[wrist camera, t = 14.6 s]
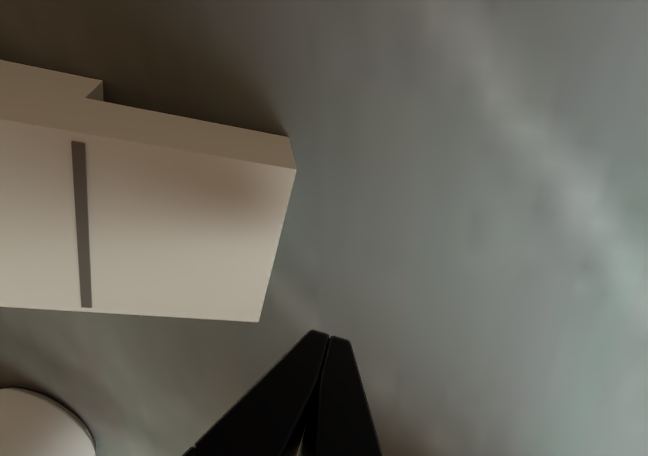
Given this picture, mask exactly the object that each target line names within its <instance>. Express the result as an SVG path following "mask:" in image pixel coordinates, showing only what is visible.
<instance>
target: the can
mask: <svg viewBox="0 0 648 456" xmlns="http://www.w3.org/2000/svg"><path fill="white" fill-rule="evenodd" d="M0 456H95V441H94V438H93V436H92V434H91V432H90V430H89V429H88V428H87V426H86V425H85V424H84V423H83V421H82V420H81V419H80V418H79V417H78V416H76V415H75V414H74V413H73V412H72V411H71V410H69V409H68V408H67V407H65V406H64V405H62V404H61V403H59V402H57V401H56V400H54V399H52V398H50V397H48V396H46V395H44V394H41V393H39V392H36V391H33V390H29V389H25V388H19V387H6V388H1V389H0Z"/></svg>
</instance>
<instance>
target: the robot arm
mask: <svg viewBox="0 0 648 456" xmlns="http://www.w3.org/2000/svg"><path fill="white" fill-rule="evenodd" d="M306 422H307V423H306ZM305 426H306V427H305ZM304 429H305V430H304ZM303 433H304V434H303ZM302 436H303V439H302ZM301 439H302V443H301ZM300 443H301V448H300V454H299V456H383V454H382V451H381V447H380V444H379V440H378V437H377V433H376V430H375V426H374V423H373V419H372V416H371V412H370V409H369V405H368V402H367V398H366V395H365V391H364V388H363V384H362V381H361V377H360V374H359V370H358V367H357V363H356V360H355V356H354V353H353V349H352V346H351V343H350V341H349V340H347V339H343V338H340V337H336V336H331V337H330V339H329V335H328V334H326V333H323V332H319V331H316V330H310V331H309V332H307V333H306V334H305V335H304V336H303V337H302V338H301V339H300V340H299V341H298V342H297V343H296V344H295V345H294V346H293V347H292V348H291V349H290V350H289V351H288V352H287V353H286V354H285V355H284V356H283V357H282V358H281V359H280V360H279V361H278V362H277V363H276V364H275V365H274V366H273V367H272V368H271V369H270V370H269V371H268V372H267V373H266V374H265V375H264V376H263V377H262V378H261V379H260V380H259V381H258V382H257V383H256V384H255V385H254V386H253V387H252V388H251V389H250V390H248V391H247V392H246V393H245V394H244V395H243V396H242V397H241V398H240V399H239V400H238V401H237V402H236V403H235V404H234V405H233V406H232V407H231V408H230V409H229V410H228V411H227V412H226V413H225V414H224V415H223V416H222V417H221V418H220V419H219V420H218V421H217V422H216V423H215V424H214V425H213V426H212V427H211V428H210V429H209V430H208V431H207V432H206V433H205V434H204V435H203V436H202V437H201V438H200V439H199V440H198V441H197V442H196V443H195V447H193V446H192V447H190V448H189V449H188V450H187V451H186V452H185V453H184V454H183V455H182V456H296V454H297V451H298V448H299V446H300Z"/></svg>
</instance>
